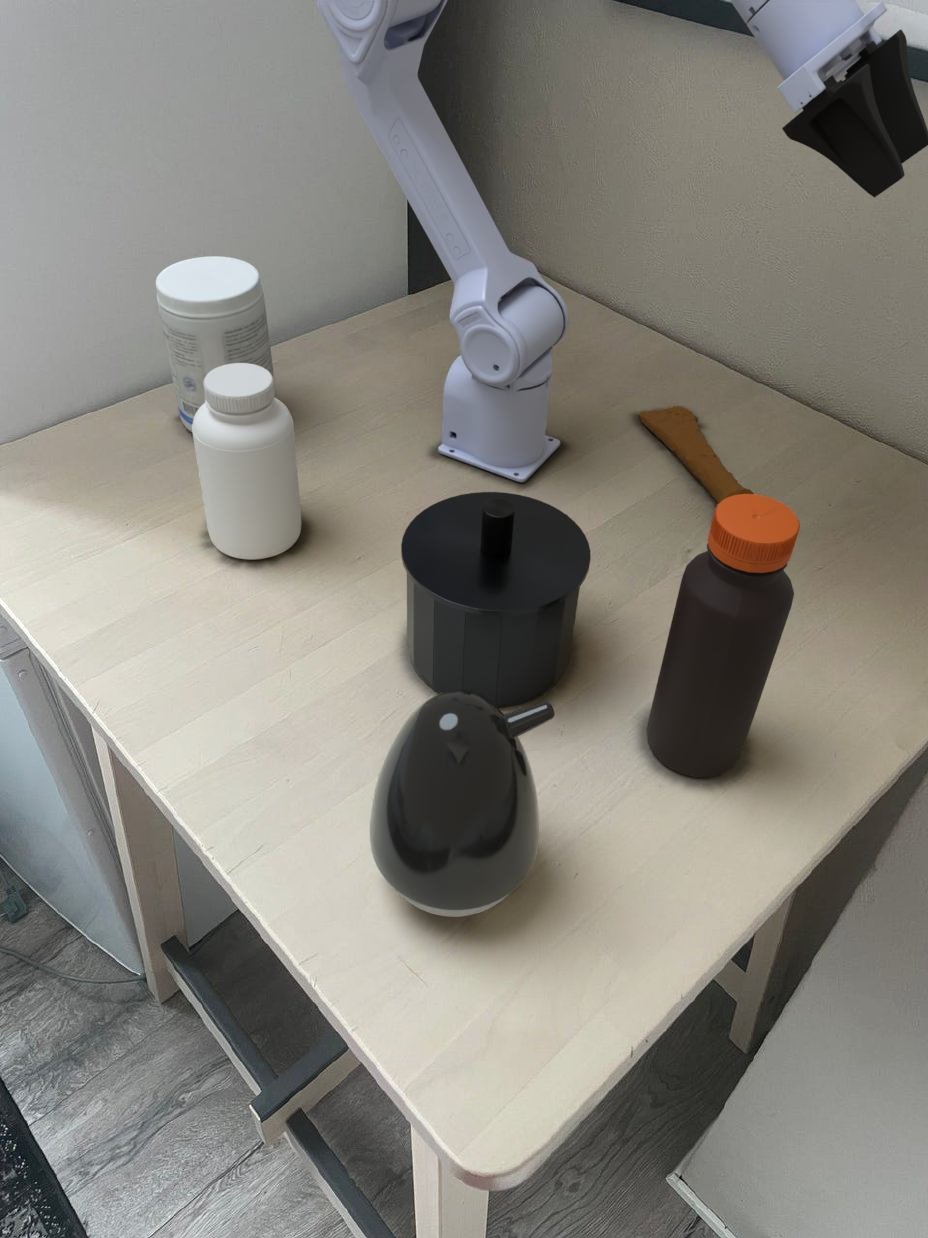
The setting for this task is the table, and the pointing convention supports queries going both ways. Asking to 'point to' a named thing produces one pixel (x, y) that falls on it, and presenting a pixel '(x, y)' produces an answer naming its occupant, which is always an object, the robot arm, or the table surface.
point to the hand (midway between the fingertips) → (903, 169)
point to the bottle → (723, 637)
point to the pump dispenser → (457, 804)
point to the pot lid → (495, 554)
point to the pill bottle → (247, 463)
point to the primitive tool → (692, 449)
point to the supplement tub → (210, 323)
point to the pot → (489, 648)
